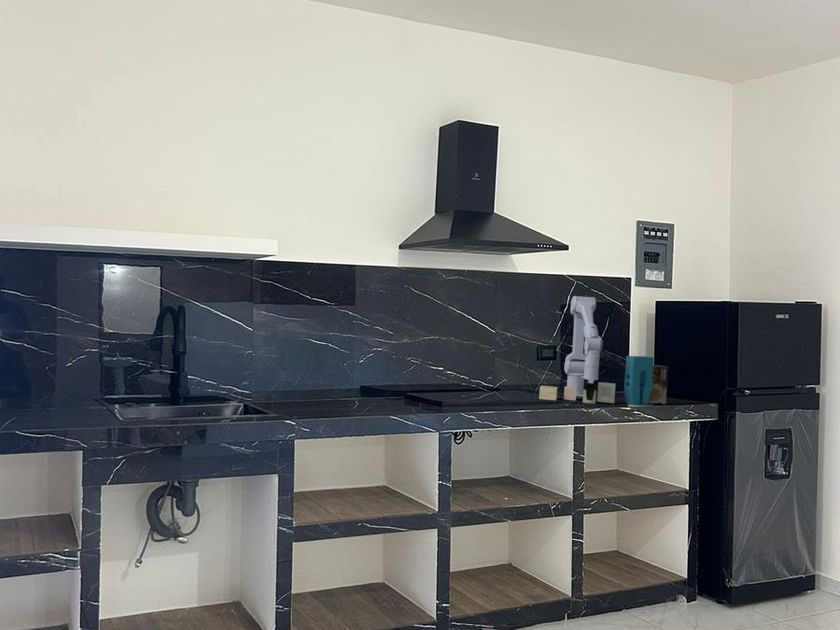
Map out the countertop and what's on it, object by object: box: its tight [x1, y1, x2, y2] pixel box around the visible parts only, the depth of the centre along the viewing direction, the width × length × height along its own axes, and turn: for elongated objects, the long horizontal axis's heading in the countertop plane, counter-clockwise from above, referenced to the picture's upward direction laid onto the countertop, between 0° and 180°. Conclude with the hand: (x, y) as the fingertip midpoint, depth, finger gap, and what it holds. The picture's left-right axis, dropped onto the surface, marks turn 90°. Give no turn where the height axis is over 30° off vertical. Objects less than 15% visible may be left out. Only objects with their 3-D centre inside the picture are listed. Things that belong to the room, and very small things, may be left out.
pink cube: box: [563, 386, 577, 401], centre depth 371 cm, size 5×5×5 cm
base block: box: [538, 385, 558, 401], centre depth 368 cm, size 7×7×5 cm
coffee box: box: [648, 364, 669, 405], centre depth 379 cm, size 9×6×16 cm
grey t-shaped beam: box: [596, 381, 616, 404], centre depth 370 cm, size 4×7×8 cm, turn 80°
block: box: [623, 355, 655, 406], centre depth 370 cm, size 12×5×20 cm, turn 120°
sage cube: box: [582, 389, 597, 404], centre depth 364 cm, size 5×5×5 cm
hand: (589, 399), depth 364 cm, fingers open, 7 cm apart
